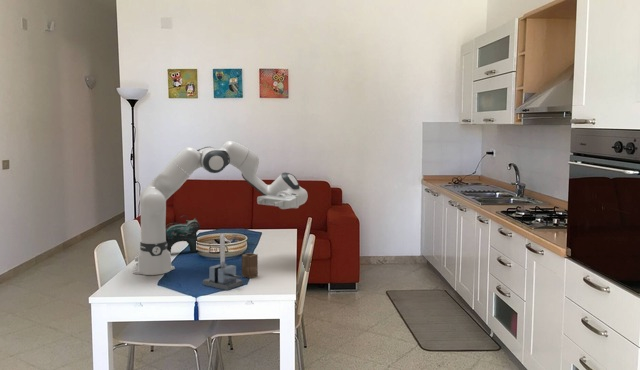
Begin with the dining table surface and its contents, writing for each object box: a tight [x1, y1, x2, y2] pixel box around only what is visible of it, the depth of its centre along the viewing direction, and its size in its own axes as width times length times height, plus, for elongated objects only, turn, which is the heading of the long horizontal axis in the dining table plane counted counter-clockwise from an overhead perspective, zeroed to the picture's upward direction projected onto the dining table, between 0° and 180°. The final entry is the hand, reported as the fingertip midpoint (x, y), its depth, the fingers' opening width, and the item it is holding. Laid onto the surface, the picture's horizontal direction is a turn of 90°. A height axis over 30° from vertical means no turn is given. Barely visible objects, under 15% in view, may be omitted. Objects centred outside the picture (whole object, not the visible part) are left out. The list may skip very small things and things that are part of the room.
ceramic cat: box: [166, 215, 200, 254], centre depth 297 cm, size 20×6×20 cm, turn 122°
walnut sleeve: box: [241, 252, 259, 279], centre depth 256 cm, size 5×5×10 cm
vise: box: [202, 233, 244, 291], centre depth 241 cm, size 17×10×22 cm, turn 57°
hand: (266, 203), depth 263 cm, fingers open, 8 cm apart
